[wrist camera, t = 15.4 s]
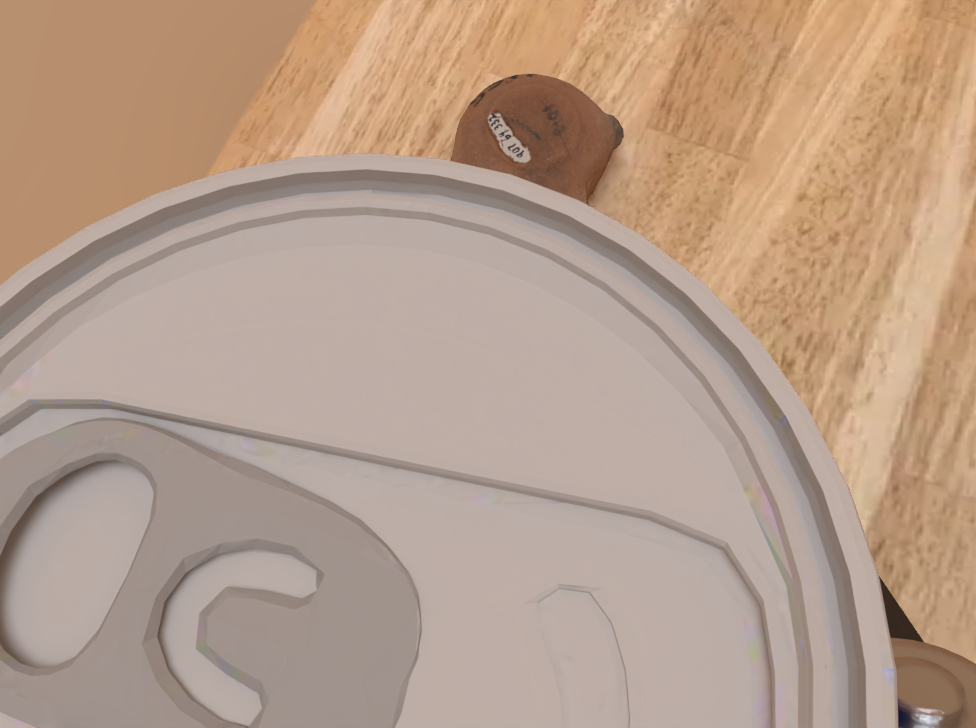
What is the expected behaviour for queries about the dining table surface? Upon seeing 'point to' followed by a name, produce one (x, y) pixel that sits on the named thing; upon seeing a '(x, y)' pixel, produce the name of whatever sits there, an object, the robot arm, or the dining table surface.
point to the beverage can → (411, 473)
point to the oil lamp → (538, 134)
